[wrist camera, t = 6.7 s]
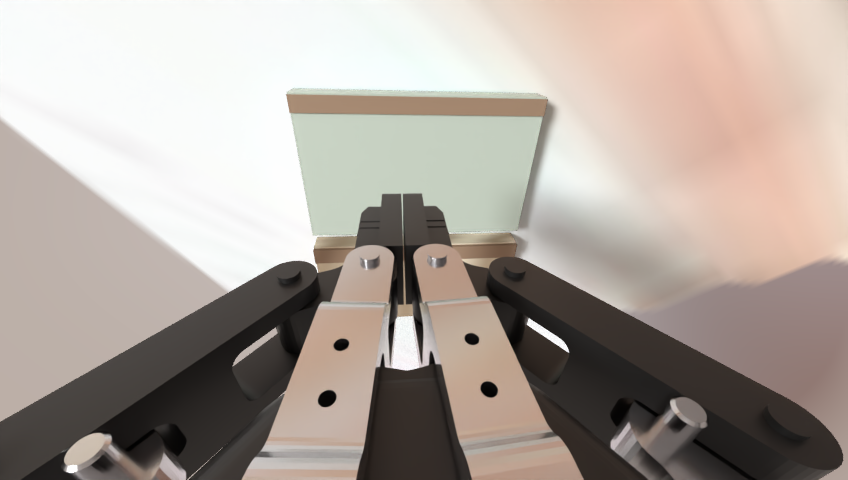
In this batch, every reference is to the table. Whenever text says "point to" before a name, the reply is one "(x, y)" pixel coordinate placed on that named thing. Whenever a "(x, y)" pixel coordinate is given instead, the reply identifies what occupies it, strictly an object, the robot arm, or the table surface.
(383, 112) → the sage plank
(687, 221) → the table surface
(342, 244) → the ash board
